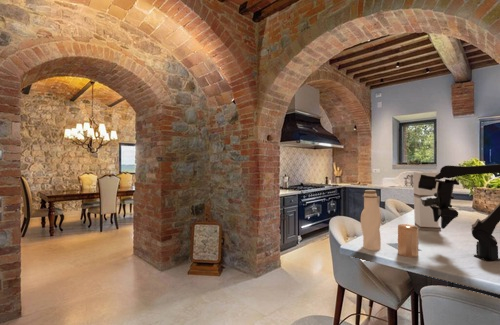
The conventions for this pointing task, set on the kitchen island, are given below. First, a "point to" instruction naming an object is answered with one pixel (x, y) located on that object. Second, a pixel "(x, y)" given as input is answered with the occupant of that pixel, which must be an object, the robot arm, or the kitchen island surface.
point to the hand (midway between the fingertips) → (438, 224)
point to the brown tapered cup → (408, 240)
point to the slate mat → (397, 245)
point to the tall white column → (422, 213)
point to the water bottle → (371, 221)
